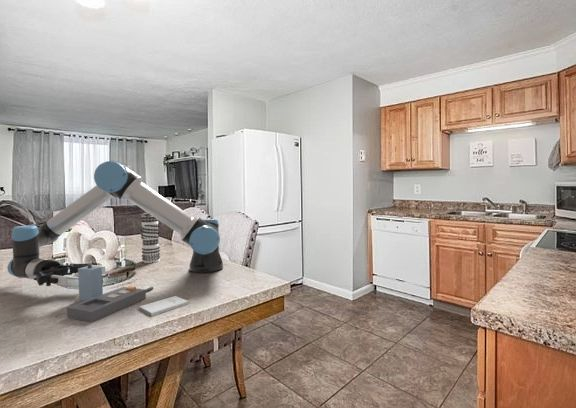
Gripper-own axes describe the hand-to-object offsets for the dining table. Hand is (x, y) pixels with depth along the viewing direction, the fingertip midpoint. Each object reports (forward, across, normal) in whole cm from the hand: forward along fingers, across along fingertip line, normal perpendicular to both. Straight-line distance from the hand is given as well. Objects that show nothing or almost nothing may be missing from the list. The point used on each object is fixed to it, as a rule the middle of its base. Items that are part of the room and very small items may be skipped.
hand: (86, 275), depth 107 cm
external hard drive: (+29, -3, -9) cm, 31 cm away
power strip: (+13, -2, -8) cm, 16 cm away
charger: (+1, 0, -8) cm, 8 cm away
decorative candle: (-20, -51, -8) cm, 55 cm away
